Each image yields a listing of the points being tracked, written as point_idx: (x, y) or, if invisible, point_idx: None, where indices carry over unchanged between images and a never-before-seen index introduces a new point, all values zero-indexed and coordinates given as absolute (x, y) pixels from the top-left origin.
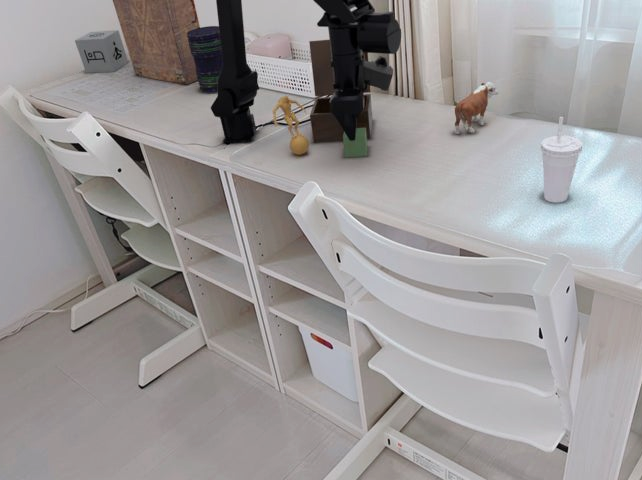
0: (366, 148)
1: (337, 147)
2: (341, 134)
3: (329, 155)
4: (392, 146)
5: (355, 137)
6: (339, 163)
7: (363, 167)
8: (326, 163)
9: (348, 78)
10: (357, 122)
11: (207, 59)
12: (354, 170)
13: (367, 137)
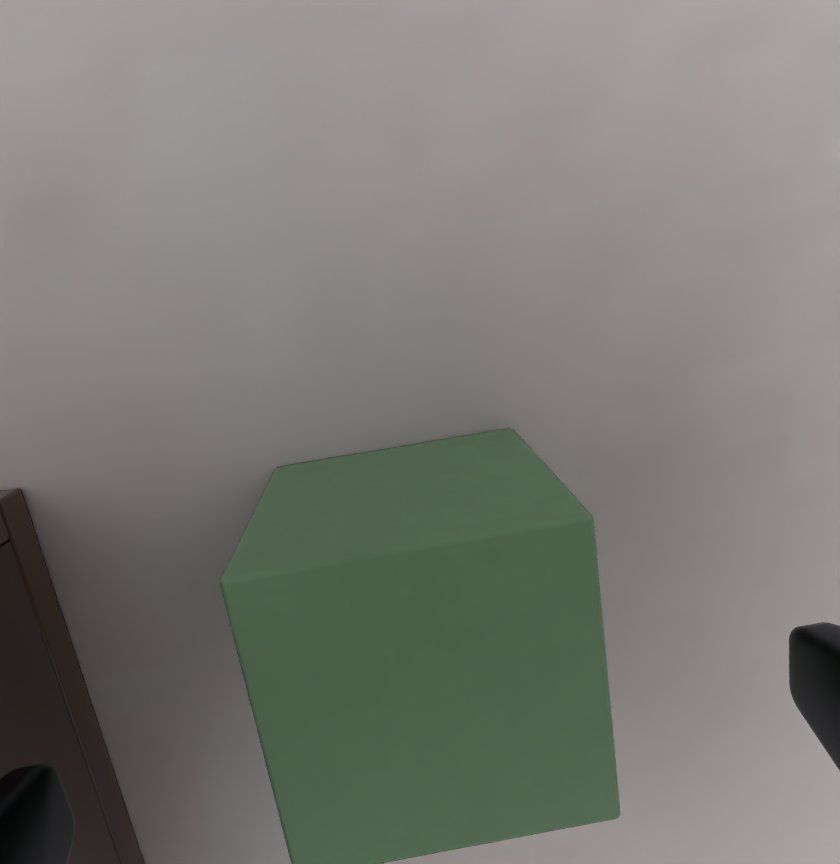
0: (436, 456)
1: None
2: (82, 835)
3: None
4: (214, 159)
5: (604, 644)
6: (661, 655)
7: (778, 398)
8: (651, 766)
9: None
10: (52, 769)
11: None
12: (835, 474)
13: (18, 528)
